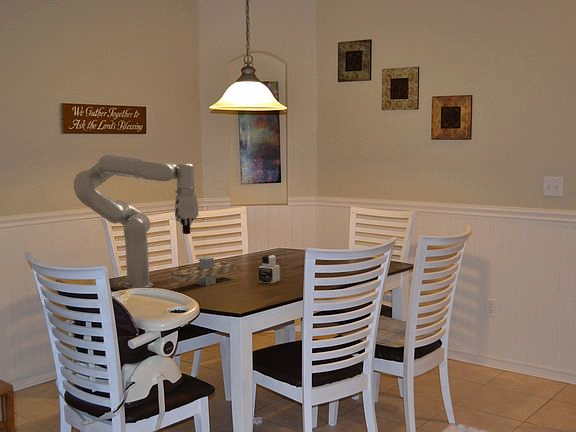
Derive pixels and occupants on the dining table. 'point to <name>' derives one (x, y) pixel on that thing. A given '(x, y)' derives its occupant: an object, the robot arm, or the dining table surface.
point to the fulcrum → (206, 280)
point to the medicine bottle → (269, 270)
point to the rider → (206, 263)
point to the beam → (202, 272)
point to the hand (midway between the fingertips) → (186, 233)
